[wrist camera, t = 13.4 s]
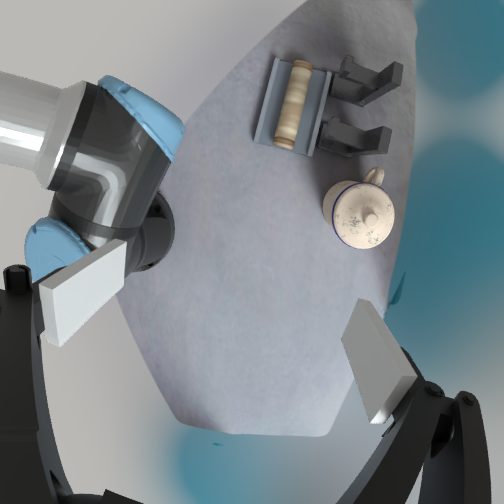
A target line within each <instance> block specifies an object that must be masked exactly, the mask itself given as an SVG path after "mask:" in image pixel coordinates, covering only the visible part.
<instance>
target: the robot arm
mask: <svg viewBox="0 0 504 504" xmlns="http://www.w3.org/2000/svg"><path fill="white" fill-rule="evenodd" d="M184 131H185V130H184V125H183V123H182V121H181V120H180V119H179V118H178V117H177V116H176V115H175V114H174V113H172V112H171V111H170V110H168V109H167V108H166V107H164V106H163V105H161V104H160V103H158V102H157V101H155V100H153V99H152V98H151V97H149V96H147V95H146V94H144V93H143V92H141V91H139V90H137V89H136V88H133V87H131V86H130V85H128V84H126V83H124V82H123V81H121V80H119V79H117V78H115V77H113V76H109V75H106V76H104V77H103V78H102V79H100V80H99V81H98V85H94V84H91V83H89V82H86V81H81V82H78V83H76V84H74V85H72V86H70V87H68V88H64V89H60V88H57V87H54V86H51V85H47V84H44V83H41V82H38V81H34V80H31V79H27V78H24V77H20V76H16V75H13V74H9V73H5V72H1V71H0V163H2V164H7V165H11V166H16V167H20V168H24V169H29V170H32V171H33V172H34V173H35V174H36V176H37V178H38V180H39V182H40V184H41V186H42V188H44V189H48V190H52V191H55V193H54V197H53V200H52V204H51V207H50V211H49V214H48V216H47V217H45V218H41V219H39V220H38V221H37V222H36V223H35V224H34V225H33V226H31V228H30V229H29V231H28V233H27V235H26V239H25V246H24V247H25V248H24V249H25V250H24V251H25V259H26V264H27V266H25V265H19V264H18V265H12V266H9V267H7V268H5V270H4V271H3V275H4V283H5V290H2V289H0V504H143V503H141V502H138V501H135V500H132V499H129V498H127V497H124V496H121V495H119V494H116V493H114V492H111V491H109V490H107V489H105V492H104V494H103V496H101V495H94V494H73V492H72V489H71V487H70V485H69V483H68V481H67V479H66V476H65V473H64V470H63V467H62V464H61V460H60V457H59V454H58V450H57V446H56V442H55V437H54V433H53V429H52V424H51V419H50V414H49V408H48V403H47V396H46V390H45V382H44V374H43V364H42V352H41V339H40V334H41V333H42V332H43V331H44V330H45V334H46V340H47V342H49V343H51V344H53V345H55V346H57V347H61V346H62V345H63V344H64V343H65V342H66V341H67V340H68V339H69V338H70V337H71V336H72V335H73V334H74V333H75V332H76V331H77V330H78V329H79V328H80V327H81V326H82V325H83V324H84V323H85V322H86V321H87V320H88V319H89V318H90V317H91V316H92V315H93V314H94V313H95V312H96V311H97V310H98V309H100V308H101V307H102V306H103V305H104V304H105V303H106V302H107V301H108V300H109V299H110V298H111V297H112V296H113V295H114V294H115V293H116V292H118V291H119V290H120V289H121V288H122V287H123V286H124V278H125V277H127V276H128V275H129V274H130V273H131V272H140V271H145V270H148V269H150V268H152V267H154V266H155V265H156V264H158V263H159V262H160V261H161V260H162V259H163V258H164V257H165V256H166V255H167V253H168V252H169V250H170V248H171V246H172V243H173V240H174V234H175V225H174V219H173V215H172V212H171V209H170V207H169V205H168V204H167V202H166V201H165V199H164V198H163V197H162V196H161V195H160V194H159V193H158V192H157V190H158V188H159V186H160V184H161V182H162V180H163V178H164V176H165V174H166V172H167V170H168V168H169V166H170V164H171V163H173V162H174V155H175V153H176V151H177V149H178V147H179V145H180V143H181V141H182V139H183V136H184ZM32 279H33V281H34V283H33V284H32ZM341 340H342V343H343V346H344V349H345V351H346V354H347V357H348V360H349V363H350V365H351V368H352V371H353V374H354V377H355V380H356V383H357V385H358V388H359V391H360V394H361V397H362V400H363V404H364V406H365V409H366V413H367V416H368V419H369V422H370V423H385V422H386V421H387V420H388V418H389V417H390V416H391V414H392V415H393V418H394V422H393V423H392V424H391V425H390V426H389V428H388V429H387V430H386V431H385V433H384V434H383V435H382V437H383V438H382V440H381V442H380V444H379V445H378V446H377V448H376V450H375V451H374V453H373V454H372V456H371V457H370V459H369V460H368V462H367V463H366V465H365V466H364V468H363V469H362V470H361V472H360V473H359V475H358V476H357V477H356V479H355V480H354V482H353V483H352V484H351V485H350V487H349V488H348V489H347V491H346V492H345V493H344V494H343V496H342V497H341V498H340V499H339V501H338V502H337V503H336V504H405V502H406V500H407V499H408V496H409V494H410V492H411V490H412V488H413V486H414V484H415V482H416V479H417V477H418V475H419V472H420V470H421V467H422V465H423V463H424V465H423V474H422V482H421V488H420V495H419V501H418V504H491V479H490V468H489V458H488V450H487V443H486V436H485V431H484V425H483V419H482V414H481V409H480V405H479V402H478V400H477V399H476V397H475V396H474V395H473V394H472V393H469V392H466V391H460V392H459V393H458V394H457V396H456V397H455V399H452V398H449V397H445V394H444V392H443V390H442V389H441V388H440V387H439V386H438V385H437V384H435V383H432V382H430V381H425V379H424V377H423V376H422V374H421V373H420V371H419V369H418V368H417V366H416V364H415V363H414V362H413V361H412V358H411V356H410V355H409V353H407V351H405V350H404V349H403V348H402V347H400V346H399V345H398V343H397V342H396V340H395V338H394V337H393V335H392V334H391V332H390V331H389V329H388V327H387V326H386V325H385V323H384V321H383V320H382V318H381V317H380V315H379V314H378V312H377V311H376V309H375V308H374V306H373V305H372V303H371V302H370V301H368V300H363V299H359V298H358V301H357V303H356V306H355V308H354V310H353V313H352V315H351V318H350V320H349V322H348V325H347V327H346V329H345V331H344V334H343V336H342V338H341Z"/></svg>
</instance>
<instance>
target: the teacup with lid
mask: <svg viewBox="0 0 504 504" xmlns="http://www.w3.org/2000/svg"><path fill="white" fill-rule="evenodd" d="M383 177H384V171H383V169H382V168H380V167H374V168H372V169H371V170H370V171H369V172H368V173H367V174H366V176H365V178H364V179H363V181H362V182H355V181H342V182H339V183H337V184H335V185H333V186H332V187H331V188H330V189H329V190H328V192H327V193H326V195H325V197H324V201H323V214H324V217H325V220H326V221H327V223H328V224H329V225H330V227H331V228H332V229H333V230H334V231H335V233H336V234H337V236H338V237H339V238H340V240H341V241H342V242H344V243H345V244H346V245H348V246H350V247H353V248H357V249H367V248H371V247H374V246H376V245H378V244H380V243H381V242H382V241H383V240H384V239H385V238H386V237H387V236H388V234H389V233H390V231H391V229H392V226H393V222H394V208H393V204H392V202H391V199H390V198H389V196H388V194H387V193H386V192H385V191H384V190H383V189H382V188H380V185H381V183H382V180H383ZM373 178H374V179H373ZM372 180H373V181H372ZM371 181H372V183H371Z"/></svg>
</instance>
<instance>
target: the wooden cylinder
mask: <svg viewBox="0 0 504 504" xmlns="http://www.w3.org/2000/svg"><path fill="white" fill-rule="evenodd" d="M312 71H313V65H312V64H311V63H309V62H307V61H303V60H295V61H294V63H293V66H292V71H291V75H290V79H289V83H288V87H287V90H286V94H285V98H284V102H283V106H282V110H281V114H280V118H279V122H278V125H277V129H276V133H275V137H274V140H273V145H275V146H278V147H282V148H286V149H291V150H293V147H294V144H295V138H296V134H297V130H298V126H299V122H300V118H301V114H302V110H303V106H304V102H305V98H306V94H307V90H308V86H309V82H310V78H311V74H312Z"/></svg>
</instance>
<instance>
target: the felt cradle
mask: <svg viewBox="0 0 504 504" xmlns="http://www.w3.org/2000/svg"><path fill="white" fill-rule="evenodd" d="M292 66H293V63H289V62H285V61H280V58H275V61H274V65H273V68H272V72H271V76H270V79H269V83H268V87H267V91H266V95H265V98H264V102H263V106H262V110H261V114H260V118H259V122H258V126H257V130H256V134H255V138H254V142H255V143H259V144H264V145H268V146H272V147H276V148H280V149H284V150H288V151H291V152H295V153H299V154H302V155H306V156H310V157H312V155H313V151H314V147H315V143H316V139H317V135H318V130H319V126H320V122H321V118H322V114H323V110H324V106H325V101H326V97H327V93H328V88H329V84H330V80H331V75H332V72H329V71H328V72H327V73H326V72H322V71H319V70H315V69H313V71H312V74H311V78H310V82H309V86H308V90H307V94H306V98H305V102H304V106H303V110H302V114H301V118H300V122H299V126H298V130H297V134H296V138H295V144H294V147H293V150H291V149H286V148H282V147H278V146H275V145H273V140H274V137H275V133H276V129H277V125H278V122H279V118H280V114H281V110H282V106H283V102H284V98H285V94H286V90H287V87H288V83H289V79H290V75H291V71H292Z"/></svg>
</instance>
